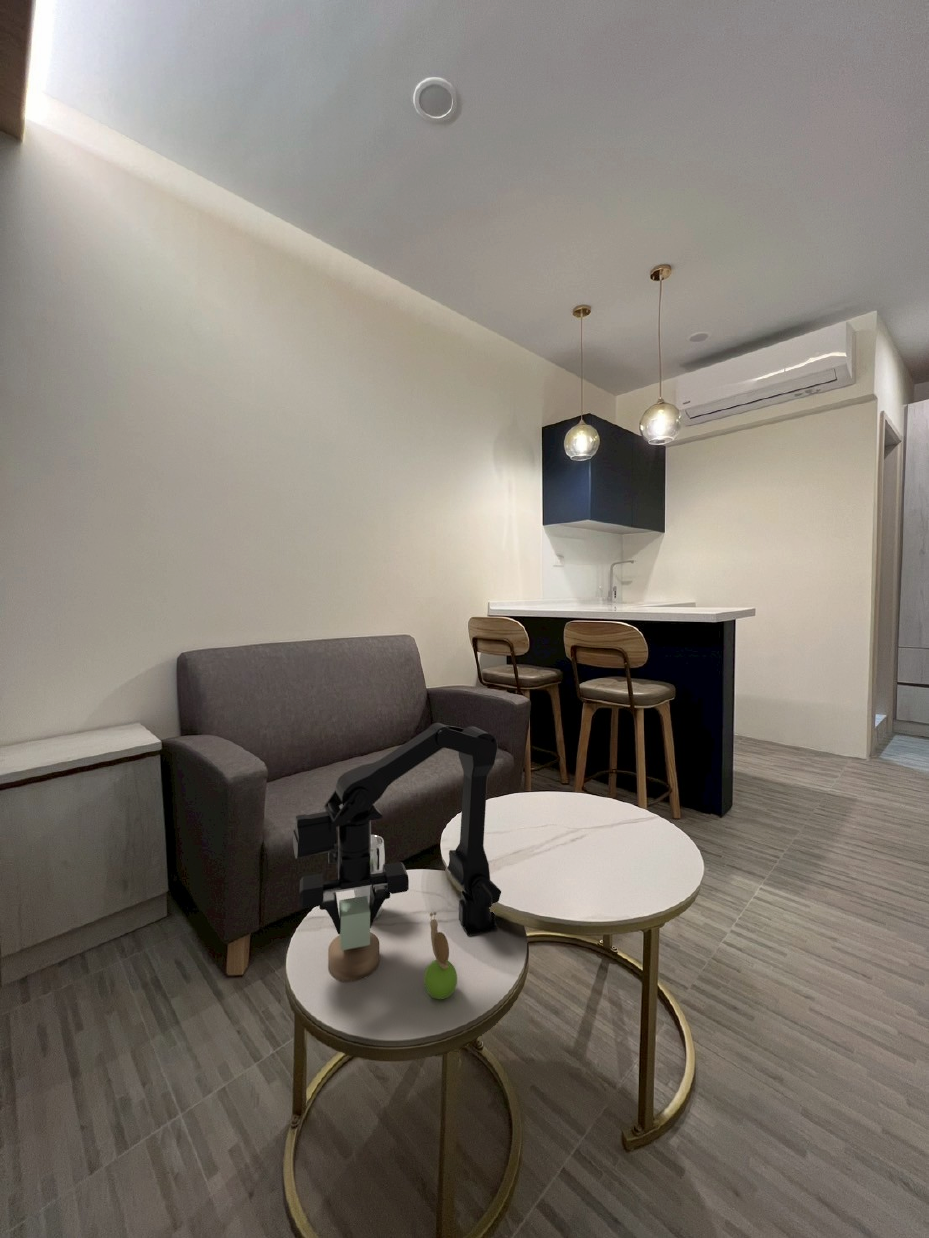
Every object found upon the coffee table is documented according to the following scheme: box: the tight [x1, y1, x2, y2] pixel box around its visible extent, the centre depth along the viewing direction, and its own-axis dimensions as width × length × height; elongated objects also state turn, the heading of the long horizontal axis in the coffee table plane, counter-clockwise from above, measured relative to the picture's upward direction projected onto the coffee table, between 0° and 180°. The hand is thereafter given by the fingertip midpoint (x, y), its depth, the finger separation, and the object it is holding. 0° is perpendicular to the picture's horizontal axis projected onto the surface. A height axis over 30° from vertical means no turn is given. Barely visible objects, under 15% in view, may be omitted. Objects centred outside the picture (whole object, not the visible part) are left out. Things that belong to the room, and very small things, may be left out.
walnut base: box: [327, 931, 380, 983], centre depth 90 cm, size 9×9×3 cm
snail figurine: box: [423, 911, 458, 1000], centre depth 83 cm, size 5×6×12 cm
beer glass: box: [353, 834, 386, 920], centre depth 104 cm, size 7×7×15 cm
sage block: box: [338, 896, 371, 950], centre depth 90 cm, size 5×5×6 cm
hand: (354, 929), depth 90 cm, fingers closed on sage block, 5 cm apart
